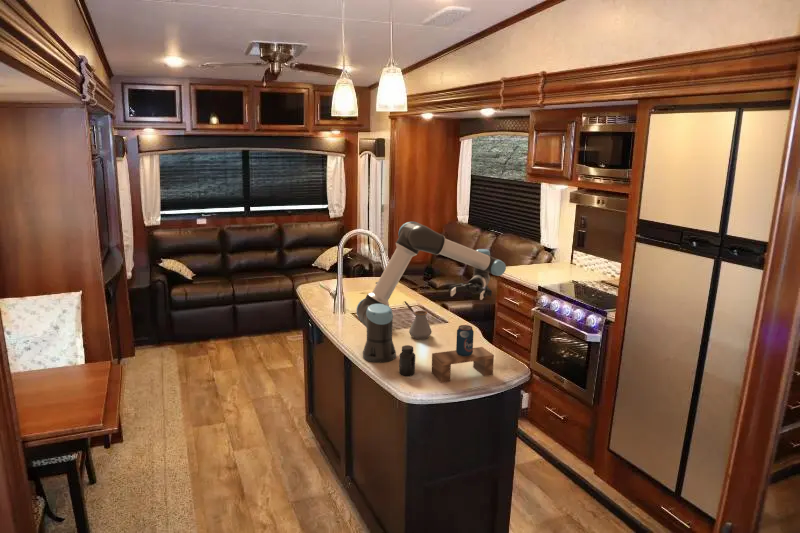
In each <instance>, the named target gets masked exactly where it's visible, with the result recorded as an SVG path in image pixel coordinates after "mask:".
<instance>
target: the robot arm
mask: <svg viewBox="0 0 800 533" xmlns="http://www.w3.org/2000/svg"><path fill="white" fill-rule="evenodd" d="M397 237H398V238H397V240H396V241H395V246H396V248H395V250H394V253H393V254H392V255H391V258H390V260H389V261H388V263H387V265H386V267H385V268H384V271H383V272H382V273H381V276H380V277H379V279H378V281H377V282H378V283H377V284H376V283H375V286H374V289H373V290H372V291H371V292H368V293H367V294H366V296H365V298H363V299H361V300H360V301H359V302H358V304H357V305H356V310H355V311H356V315H357V318H358V319H359V321H360V322H361V323H362V324H363V325H364V326H365V327H366V341H365V345H364V347H363V350H362V358H363V359H364V360H365V361H368V362H371V363H388V362H391V361H393V360H395V359H396V358H397V357H396V356H397V351H396V348H395V345H394V341H393V318H394V315H393V309H392V308H391V306H390V304H389V300H390V298H391V296H392V294H393V293H394V291H395V289H396V287H397V285H398V284H399V282H400V279H401V278H402V277H403V275H404V273H405V271H406V269H407V267H408V265H409V264H410V262H411V260H412V258H413V257H415V256H417V255H418V254H419V252H425V253H429V254H432V255H435V256H438V255H441V256H444V257H445V258H446V257H447V258H450V259H452V260H454V261H457V262H460V263H463V264H466V265H468V266H471V267H473V275H472V278H471V279H469V280H468V282H467V283H465V284H464V283H463V282H460V283H457V284H456V283H455V284H452V285H449V286H448V292H449V293H450V297H453V296H455V294H456V293H460V292H465V293H467V292H469V293H471V294H475V295H476V294H479V295H480V296H479V300H480V301H483V299H484V298H486V297H492V295H493V294H492V293H493V290H492V289H491V288H490V287H489V286H488V284H489V282H490V281H491V280H490V279H491V276H490V274H492V275H493V276H497V277H499V276H503V274H504V273H505V272H506V268H507V265H506V262H504V261H502V260H501V259H498V258H495V257H493V256H492V255H491V251H490V250H489V249H486V248H478V249H473V248H471V247H467V246H465V245H463V244H460V243H458V242H456V241H452V240H450V239H447V238H446V236H445V235H443V234H441V233H439V232H437V231H435V230H433V229H432V228H430V227H429V226H427V225H424V224H421V223H419V222H416V221H407V222H405V223H403V224H402V225H401V226H400V227H399V230H398V236H397Z"/></svg>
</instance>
